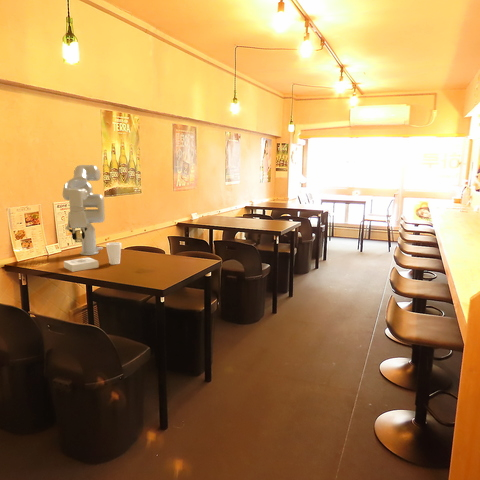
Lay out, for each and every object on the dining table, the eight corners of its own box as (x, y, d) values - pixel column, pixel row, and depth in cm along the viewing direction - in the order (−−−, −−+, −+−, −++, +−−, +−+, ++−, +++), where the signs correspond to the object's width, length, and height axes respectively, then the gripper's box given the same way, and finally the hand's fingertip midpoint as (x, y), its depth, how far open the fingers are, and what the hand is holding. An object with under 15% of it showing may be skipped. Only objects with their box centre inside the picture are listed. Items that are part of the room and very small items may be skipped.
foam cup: (125, 262, 264) (124, 243, 261) (115, 265, 255) (114, 245, 253) (114, 261, 268) (113, 241, 265) (103, 264, 259) (102, 244, 257)
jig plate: (89, 263, 261) (89, 257, 261) (98, 267, 251) (98, 261, 251) (64, 267, 251) (63, 261, 250) (72, 271, 241) (72, 265, 240)
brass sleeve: (81, 240, 252) (80, 229, 251) (83, 241, 249) (83, 230, 248) (73, 241, 249) (73, 230, 248) (76, 242, 246) (75, 231, 245)
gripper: (87, 208, 254) (89, 236, 257) (60, 209, 243) (62, 239, 246) (92, 208, 248) (94, 238, 252) (64, 210, 237) (66, 241, 240)
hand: (78, 238), depth 249 cm, fingers closed on brass sleeve, 4 cm apart
